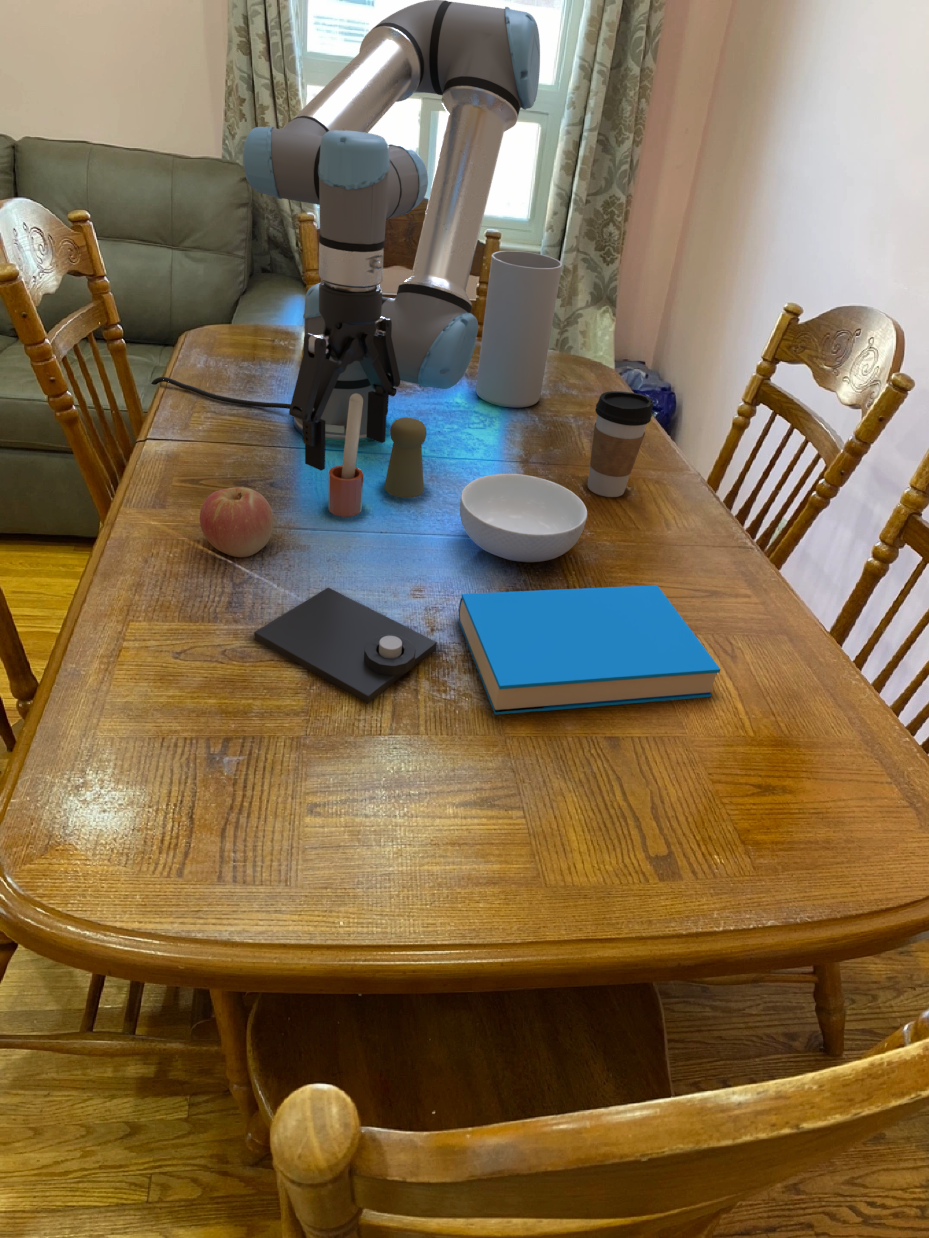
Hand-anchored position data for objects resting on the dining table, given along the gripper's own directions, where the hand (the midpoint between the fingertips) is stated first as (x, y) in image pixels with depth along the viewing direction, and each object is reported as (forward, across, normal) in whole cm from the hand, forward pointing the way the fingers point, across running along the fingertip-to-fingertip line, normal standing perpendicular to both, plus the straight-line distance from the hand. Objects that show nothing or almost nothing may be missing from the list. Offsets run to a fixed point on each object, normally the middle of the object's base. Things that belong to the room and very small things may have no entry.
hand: (346, 452), depth 110 cm
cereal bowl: (+9, +9, -23) cm, 26 cm away
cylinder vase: (+9, +57, +8) cm, 58 cm away
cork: (+9, +11, -2) cm, 14 cm away
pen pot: (+9, 0, 0) cm, 9 cm away
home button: (+7, -23, -26) cm, 35 cm away
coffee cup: (+9, +35, -24) cm, 43 cm away
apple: (+9, -17, +3) cm, 20 cm away
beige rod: (+8, 0, 0) cm, 8 cm away
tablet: (+9, -23, -20) cm, 32 cm away
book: (+9, -7, -41) cm, 43 cm away
